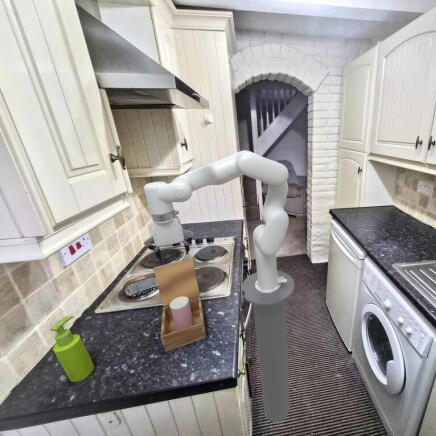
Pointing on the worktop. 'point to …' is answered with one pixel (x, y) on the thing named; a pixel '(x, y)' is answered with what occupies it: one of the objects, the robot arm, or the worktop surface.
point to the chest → (187, 335)
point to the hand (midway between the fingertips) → (174, 255)
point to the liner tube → (181, 313)
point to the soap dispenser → (71, 352)
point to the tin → (140, 284)
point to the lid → (176, 281)
